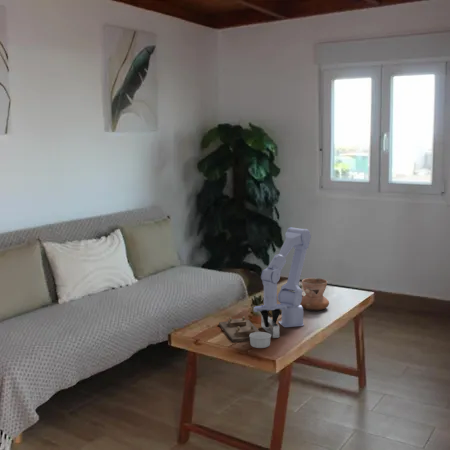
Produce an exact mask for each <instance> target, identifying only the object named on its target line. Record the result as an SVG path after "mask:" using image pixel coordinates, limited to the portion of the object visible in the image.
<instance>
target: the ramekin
mask: <svg viewBox="0 0 450 450" xmlns="http://www.w3.org/2000/svg"><path fill="white" fill-rule="evenodd" d="M249 337H250V341H249V342H250V343H249V344H250V346H251V347H253V348H256V349H264V348H265V349H266V348H268V347H270V345H271V338H272V337H271V334H269V333H267V332H266V331H260V332H253V333H251V334H250V335H249Z"/></svg>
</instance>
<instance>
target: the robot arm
mask: <svg viewBox="0 0 450 450" xmlns="http://www.w3.org/2000/svg"><path fill="white" fill-rule="evenodd" d="M284 238H285V240H284V242H283V244H282V246H281V248H280V250H279V252H278V253H277V254H274V256H273V258H272V259H271V260H270V262H269V264H268V266H267V267H266V268H264V269H263V270H261V275H260V279H261V281H262V285H263V304H264V305H261V306H255V307H254V306H253V312H254V313H257V312H260V314H261V316H262V317H263V319H264V323H265V327H268V316H269V315H270V313H269V312H268V311H269V310H272V315H271V316H272V317H271V319H272V320H273V321H274V322H275V323H276V324H277V322H278V323H279V324H280V325H281V326H282V327H284V328H293V327H303V326H304V325H305V324H304V308H303V307H302V305H300V304H301V301H302V297H303V290H302V288H301V287H300V286H299V284H300V280H301V276H302V272H303V267H304V264H305V259H306V256H307V251H308V249H309V246H310V242H311V238H312V235H311V231H310V230H309V229H308V228H297V227H292V226H291V227H288V228H287V229H286V232H285V234H284ZM293 248H294V253H293V256H292V260H291V265H290V268H289V272H288V277H287V281H286V282H285V284H283V285H282V286H281V287H280V290H279V292H278V282H279V281H280V278H281V274H282V270H283V268H284V267H285V265H286V263H287V259H286V258H287V256H288V255H289V253H290V252H291V250H292V249H293ZM281 309H282V313H281V311H280V310H281ZM280 315H281V320H279V321H278V318H279V317H280Z"/></svg>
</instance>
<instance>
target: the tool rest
mask: <svg viewBox="0 0 450 450" xmlns="http://www.w3.org/2000/svg"><path fill="white" fill-rule="evenodd" d="M218 325H219V327H220V328H221V330H222V331H223V332H224V333H225V335H227V337H228V338H229V339H230V341H231V342H232V343H240V342H250V337H249V335H250V334H251V333H253V332H261V331H260V330H259V329H258V328H257V327H256V326H255V325H254V324H253V323H252V322H251V320H249V319H245V316H242V318H235V319H234V318H232V317H229V318H228V319H227V321H219V322H218Z"/></svg>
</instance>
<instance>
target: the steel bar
mask: <svg viewBox="0 0 450 450" xmlns="http://www.w3.org/2000/svg"><path fill="white" fill-rule="evenodd" d="M260 322H261V323H260V324H261V325H260V326H261V328H262V329H263V330H265V331H264V332H266V333H269V334H271V338H272V339H277V338H280V325H279V324H278V323H277V322H276V323H275V322H274V321H273V320H272V317H271V316H269V315H268V327H265V323H264V319H263V317H262V315H261V321H260Z"/></svg>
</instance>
